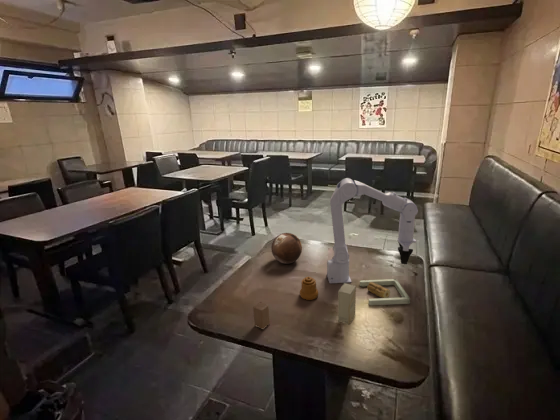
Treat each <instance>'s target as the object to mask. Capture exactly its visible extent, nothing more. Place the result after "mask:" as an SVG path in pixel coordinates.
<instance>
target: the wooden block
mask: <svg viewBox="0 0 560 420" xmlns="http://www.w3.org/2000/svg"><path fill="white" fill-rule="evenodd" d="M252 311H253V323H254V326H255V325H257V326H259V327H260V328H264V327H265V326H267V325H268V324H269V323H270V324H271V321H270V320H271V319H270V307H269V305H268V304H267V303H264V302H262V301H260V302H258V303H257V304H255V305H254V306H253V308H252ZM268 326H269V325H268ZM268 326H267V327H268Z"/></svg>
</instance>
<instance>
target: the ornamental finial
mask: <svg viewBox="0 0 560 420" xmlns="http://www.w3.org/2000/svg"><path fill="white" fill-rule="evenodd" d="M318 295H319V290H318V289H317V281H316V279H314V278H313V277H312V276H306V277H304V278H303V279H301V288H300V289H299V296H300V298H302V299H303V300H305V299H306V301H313V300H315V299H317V298H318V297H319V296H318Z"/></svg>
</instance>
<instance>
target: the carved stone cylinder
mask: <svg viewBox="0 0 560 420" xmlns="http://www.w3.org/2000/svg"><path fill="white" fill-rule="evenodd" d="M366 287H367V291H368V292H370V293H371V294H373V295H375V296H377V297H379V298H390V294H391V291H390V289H388V288H386V287H384V286H383V285H378V284H375V283H373V282H370V283H369V284H368V286H366Z"/></svg>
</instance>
